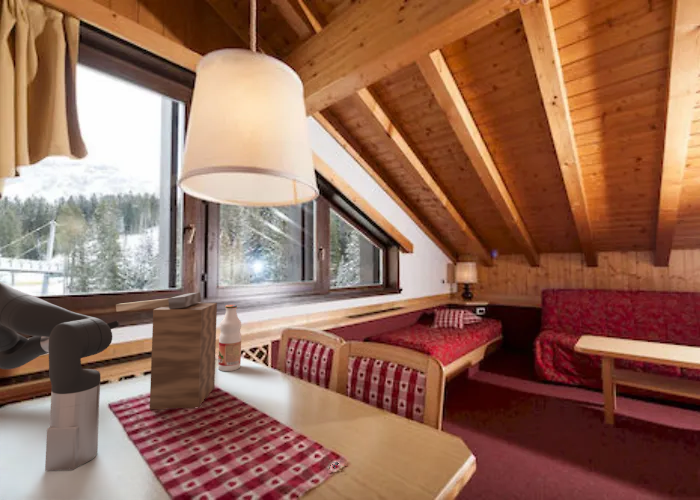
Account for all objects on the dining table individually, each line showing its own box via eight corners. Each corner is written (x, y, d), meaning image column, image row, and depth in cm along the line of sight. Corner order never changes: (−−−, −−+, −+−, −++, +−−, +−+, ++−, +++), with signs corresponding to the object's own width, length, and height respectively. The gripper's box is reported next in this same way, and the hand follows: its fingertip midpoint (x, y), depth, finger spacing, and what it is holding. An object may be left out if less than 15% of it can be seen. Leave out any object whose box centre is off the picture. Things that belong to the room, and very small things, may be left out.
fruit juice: (235, 372, 146) (237, 307, 147) (214, 371, 147) (216, 306, 148) (243, 365, 155) (245, 304, 156) (224, 364, 156) (225, 303, 157)
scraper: (185, 307, 112) (184, 296, 112) (104, 316, 109) (103, 305, 109) (201, 301, 128) (200, 292, 128) (131, 309, 125) (130, 299, 125)
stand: (198, 408, 110) (201, 309, 111) (149, 409, 109) (153, 309, 110) (214, 387, 128) (216, 302, 129) (172, 388, 127) (175, 302, 128)
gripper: (43, 329, 109) (94, 315, 110) (76, 325, 123) (121, 313, 124) (47, 352, 108) (98, 337, 109) (80, 346, 122) (125, 333, 124)
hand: (110, 324), depth 117 cm, fingers open, 8 cm apart
